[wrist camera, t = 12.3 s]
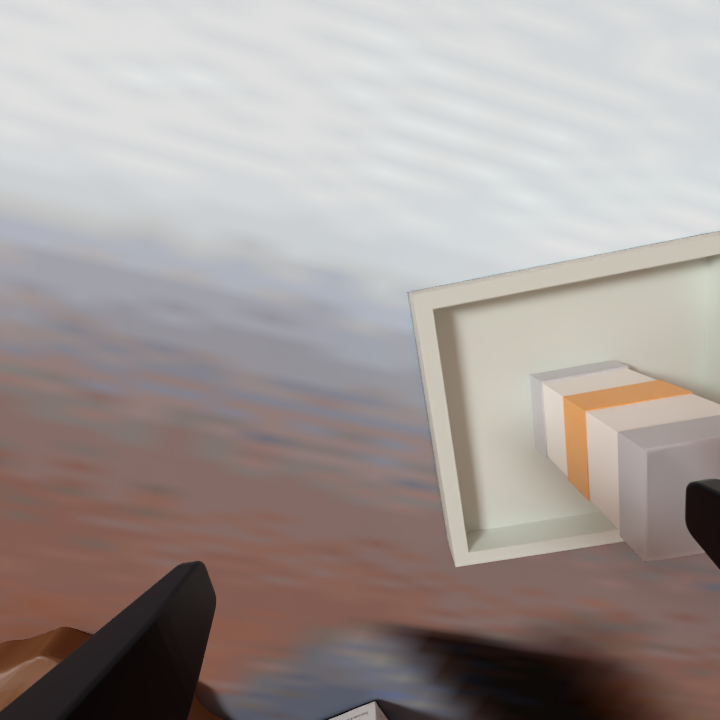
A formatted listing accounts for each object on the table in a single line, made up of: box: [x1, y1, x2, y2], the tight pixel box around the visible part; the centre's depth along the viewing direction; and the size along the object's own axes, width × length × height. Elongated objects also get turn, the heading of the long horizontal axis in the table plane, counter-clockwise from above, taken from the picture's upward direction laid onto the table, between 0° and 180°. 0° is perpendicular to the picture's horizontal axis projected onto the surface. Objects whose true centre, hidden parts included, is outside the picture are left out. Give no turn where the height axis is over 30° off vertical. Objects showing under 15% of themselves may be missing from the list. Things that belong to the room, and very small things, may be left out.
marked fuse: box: [529, 360, 720, 562], centre depth 15 cm, size 4×4×8 cm
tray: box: [408, 231, 720, 567], centre depth 19 cm, size 15×15×2 cm
